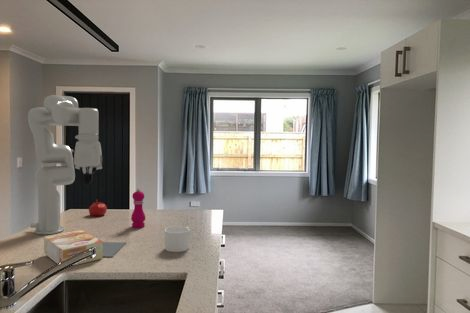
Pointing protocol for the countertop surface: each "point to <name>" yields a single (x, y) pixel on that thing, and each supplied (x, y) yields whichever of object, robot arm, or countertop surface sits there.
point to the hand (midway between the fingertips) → (88, 183)
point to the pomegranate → (97, 209)
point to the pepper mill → (138, 210)
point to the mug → (177, 239)
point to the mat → (111, 248)
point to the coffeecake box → (71, 245)
